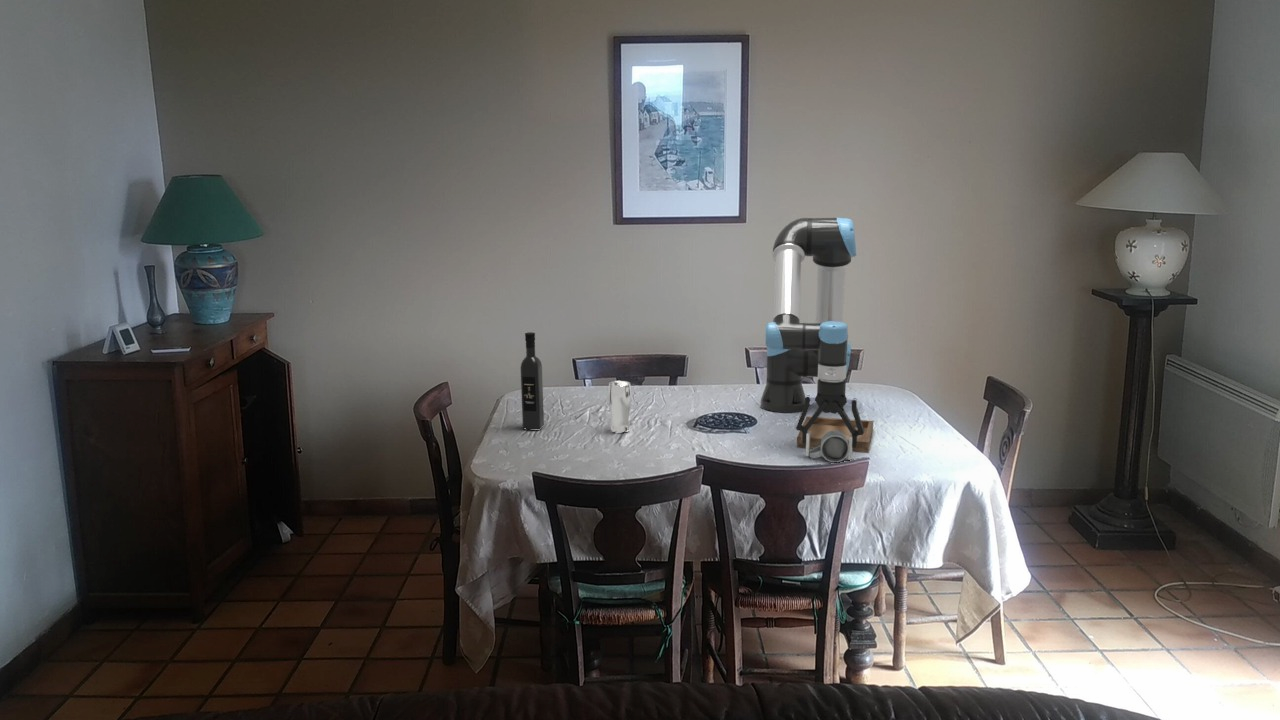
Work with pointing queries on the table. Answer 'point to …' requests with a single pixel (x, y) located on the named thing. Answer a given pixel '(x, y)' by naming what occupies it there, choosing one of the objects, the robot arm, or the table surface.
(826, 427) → the walnut tray
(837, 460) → the ceramic mug
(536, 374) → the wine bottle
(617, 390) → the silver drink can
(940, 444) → the table surface
